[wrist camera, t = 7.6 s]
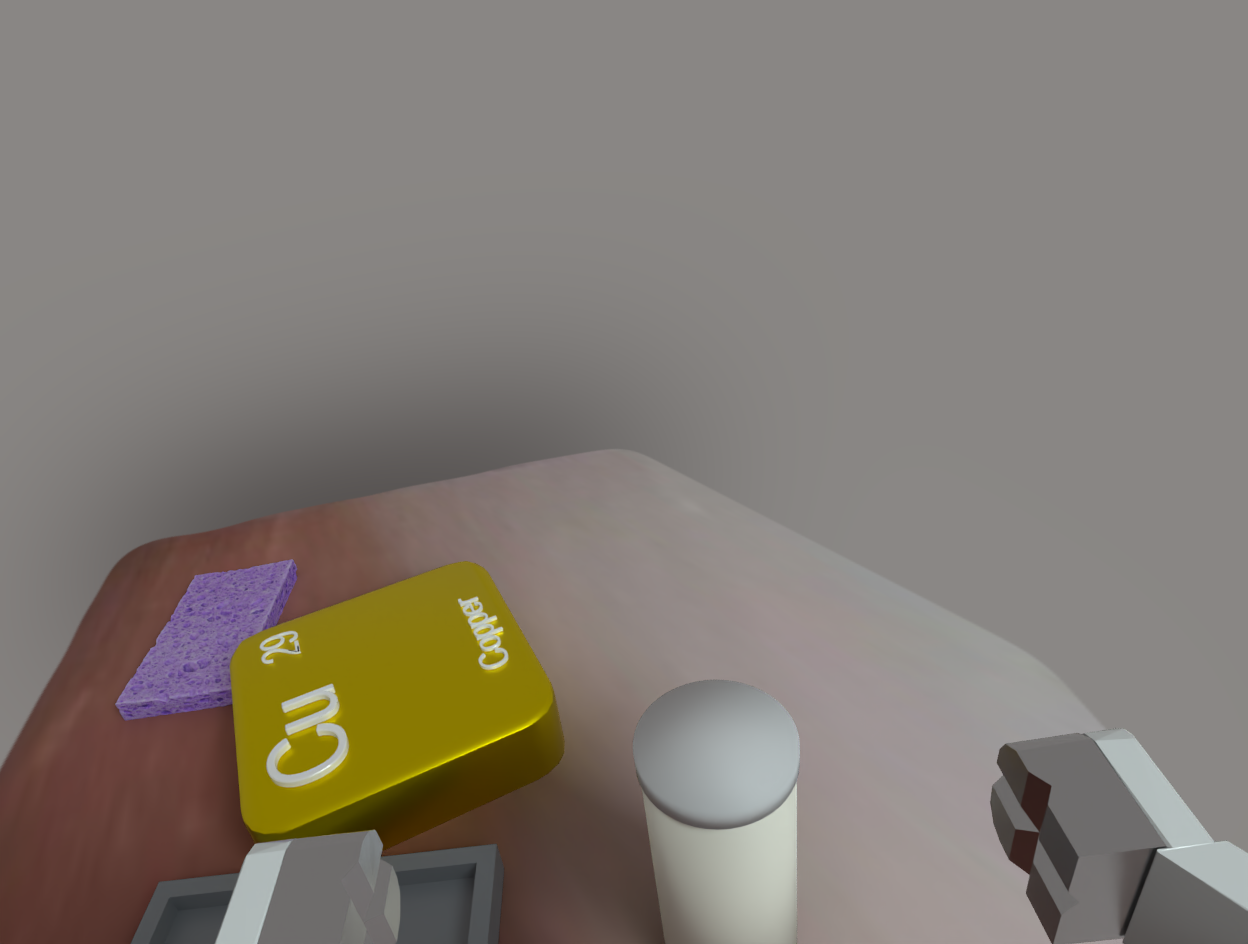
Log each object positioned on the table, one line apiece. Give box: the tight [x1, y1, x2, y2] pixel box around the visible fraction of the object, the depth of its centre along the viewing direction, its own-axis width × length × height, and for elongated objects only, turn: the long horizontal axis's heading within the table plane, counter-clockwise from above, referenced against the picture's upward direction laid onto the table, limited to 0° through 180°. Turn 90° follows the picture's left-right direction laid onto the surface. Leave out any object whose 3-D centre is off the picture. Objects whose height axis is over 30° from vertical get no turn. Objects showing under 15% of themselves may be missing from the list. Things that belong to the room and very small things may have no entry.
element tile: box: [230, 561, 564, 851], centre depth 44 cm, size 15×15×5 cm
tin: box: [633, 680, 800, 944], centre depth 30 cm, size 5×5×12 cm
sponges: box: [115, 560, 297, 720], centre depth 53 cm, size 7×13×2 cm, turn 5°
